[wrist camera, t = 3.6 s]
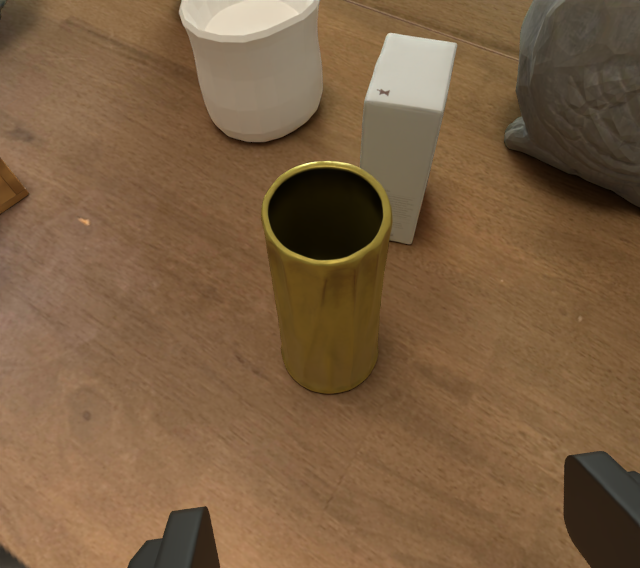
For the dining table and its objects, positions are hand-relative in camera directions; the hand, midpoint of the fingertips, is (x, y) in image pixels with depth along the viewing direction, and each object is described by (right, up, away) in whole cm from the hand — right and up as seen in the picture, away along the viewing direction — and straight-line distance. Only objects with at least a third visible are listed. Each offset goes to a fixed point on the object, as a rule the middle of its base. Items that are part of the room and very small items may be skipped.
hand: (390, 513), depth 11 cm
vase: (-1, +1, +21) cm, 21 cm away
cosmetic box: (+4, +11, +27) cm, 29 cm away
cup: (-6, +20, +33) cm, 39 cm away
